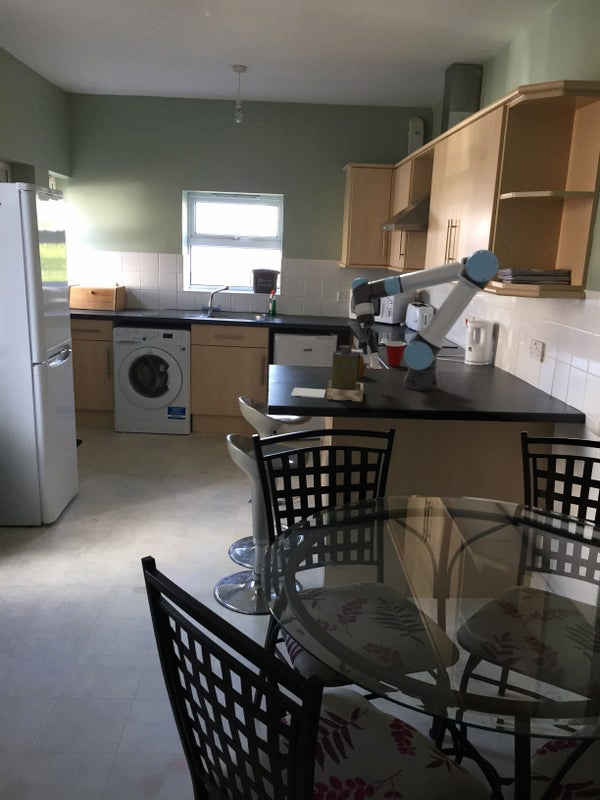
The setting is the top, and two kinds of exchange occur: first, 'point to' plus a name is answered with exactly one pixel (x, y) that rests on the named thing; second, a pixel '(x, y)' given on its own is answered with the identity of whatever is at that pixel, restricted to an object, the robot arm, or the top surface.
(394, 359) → the plastic cup
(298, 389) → the mat
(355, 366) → the canister
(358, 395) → the tan low open frame
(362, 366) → the disposable coffee cup
